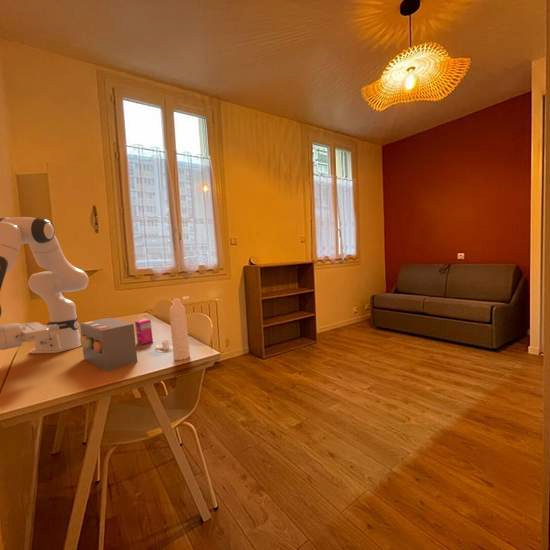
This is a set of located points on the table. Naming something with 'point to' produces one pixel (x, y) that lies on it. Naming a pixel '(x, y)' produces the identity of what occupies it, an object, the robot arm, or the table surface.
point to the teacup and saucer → (164, 346)
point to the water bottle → (179, 330)
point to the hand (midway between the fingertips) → (58, 326)
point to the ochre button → (83, 338)
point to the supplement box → (143, 332)
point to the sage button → (87, 344)
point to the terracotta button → (97, 346)
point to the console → (110, 343)
